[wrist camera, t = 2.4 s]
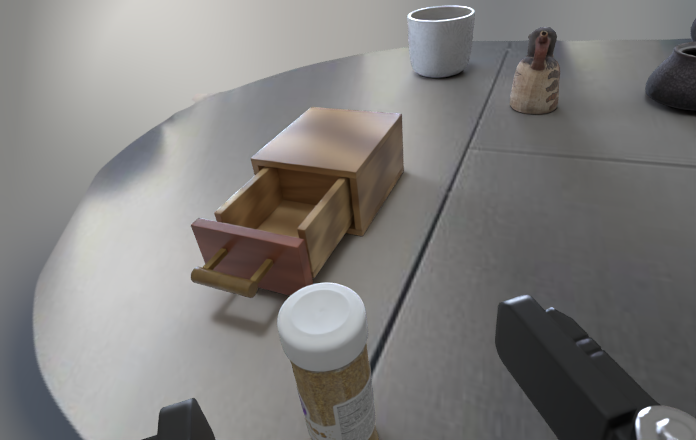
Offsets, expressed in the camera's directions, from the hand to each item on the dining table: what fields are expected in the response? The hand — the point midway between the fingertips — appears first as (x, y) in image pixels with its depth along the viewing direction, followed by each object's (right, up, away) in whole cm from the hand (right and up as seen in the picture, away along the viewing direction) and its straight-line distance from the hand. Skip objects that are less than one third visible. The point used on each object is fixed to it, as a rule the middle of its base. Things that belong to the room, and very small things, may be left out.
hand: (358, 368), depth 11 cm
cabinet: (-1, +7, +45) cm, 46 cm away
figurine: (+30, +22, +60) cm, 71 cm away
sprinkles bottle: (0, -12, +19) cm, 22 cm away
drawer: (-7, 0, +34) cm, 35 cm away
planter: (+18, +34, +78) cm, 87 cm away
